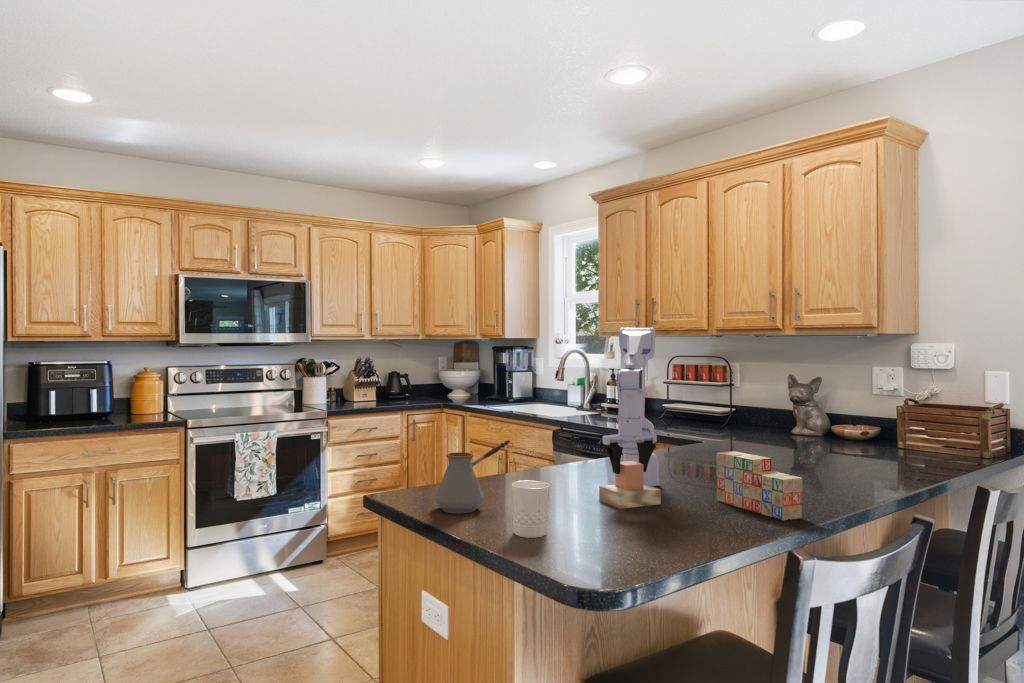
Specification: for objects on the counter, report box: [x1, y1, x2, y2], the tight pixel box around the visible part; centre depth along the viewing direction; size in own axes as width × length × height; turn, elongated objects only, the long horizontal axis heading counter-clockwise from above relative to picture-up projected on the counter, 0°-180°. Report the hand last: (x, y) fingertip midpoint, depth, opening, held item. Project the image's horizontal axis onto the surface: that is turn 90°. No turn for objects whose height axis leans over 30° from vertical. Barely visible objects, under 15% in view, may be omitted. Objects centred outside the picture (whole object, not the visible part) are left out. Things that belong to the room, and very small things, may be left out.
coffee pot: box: [434, 439, 514, 514], centre depth 153 cm, size 21×12×15 cm, turn 130°
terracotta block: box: [614, 461, 644, 490], centre depth 159 cm, size 5×5×6 cm
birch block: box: [598, 484, 662, 510], centre depth 158 cm, size 12×9×4 cm
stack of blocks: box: [715, 450, 803, 521], centre depth 153 cm, size 21×6×12 cm, turn 24°
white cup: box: [510, 479, 551, 539], centre depth 131 cm, size 8×8×10 cm
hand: (629, 472), depth 159 cm, fingers open, 7 cm apart
